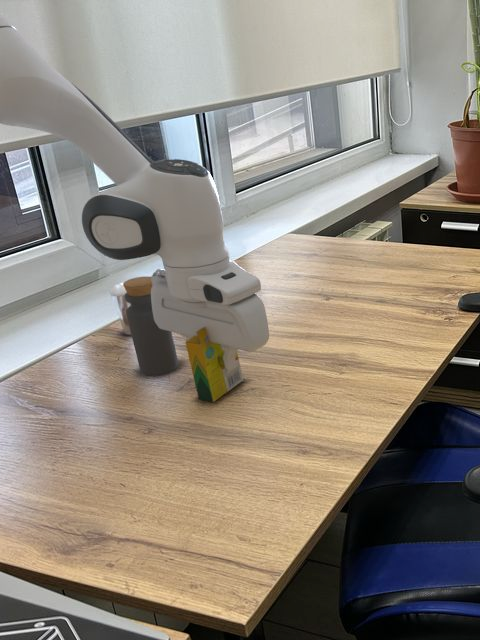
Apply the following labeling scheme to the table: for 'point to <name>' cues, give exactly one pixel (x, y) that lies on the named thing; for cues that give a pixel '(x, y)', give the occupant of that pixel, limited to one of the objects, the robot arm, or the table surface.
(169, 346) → the bottle
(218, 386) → the crayon box
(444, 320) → the table surface
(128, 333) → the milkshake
